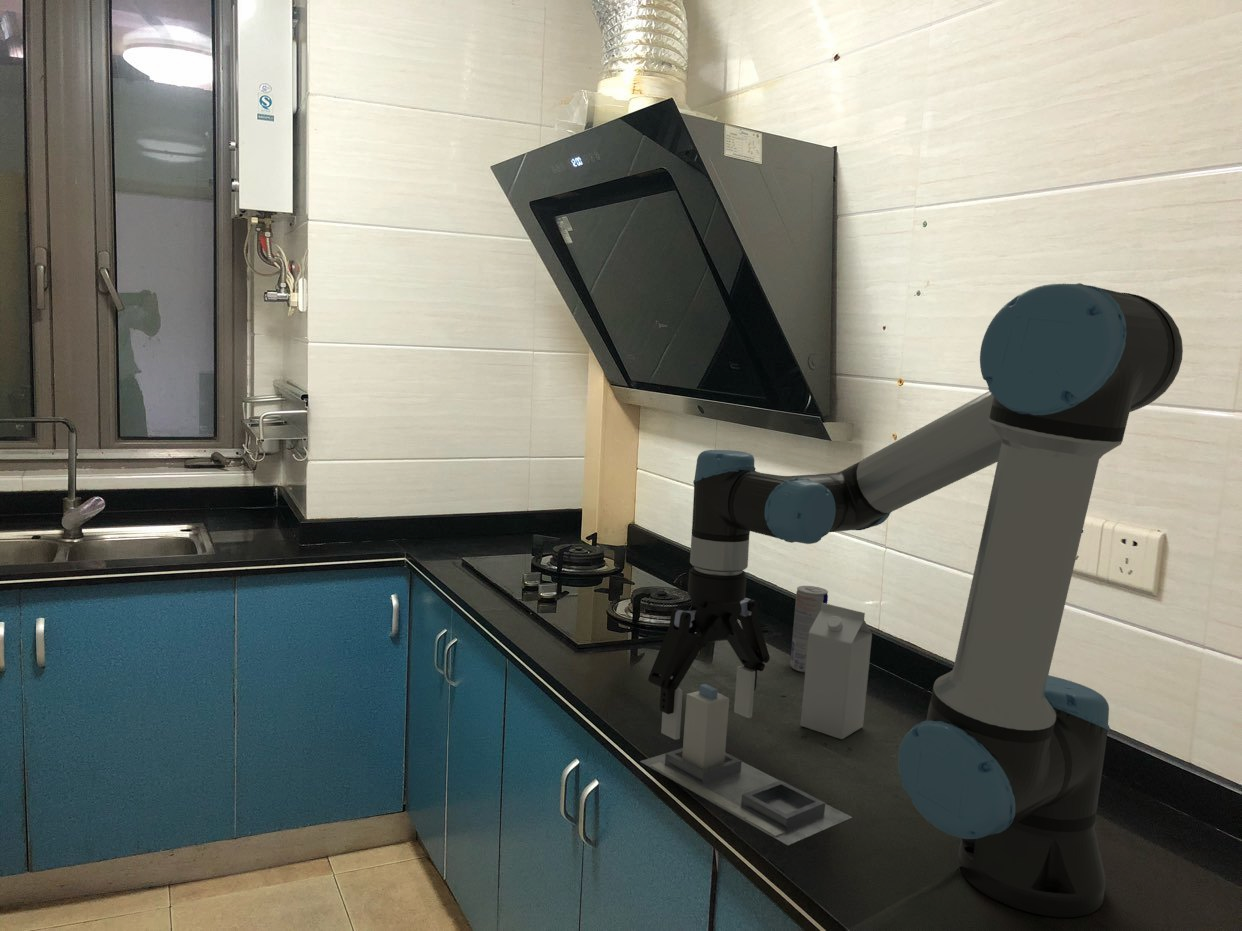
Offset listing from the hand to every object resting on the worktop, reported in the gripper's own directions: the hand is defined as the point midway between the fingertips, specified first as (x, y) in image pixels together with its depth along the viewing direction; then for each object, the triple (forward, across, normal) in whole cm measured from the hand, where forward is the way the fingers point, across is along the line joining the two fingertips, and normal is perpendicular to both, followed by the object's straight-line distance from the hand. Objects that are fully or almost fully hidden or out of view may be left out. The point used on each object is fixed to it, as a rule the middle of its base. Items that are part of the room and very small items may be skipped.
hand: (707, 725), depth 128 cm
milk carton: (+7, -29, -2) cm, 30 cm away
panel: (+7, 0, +6) cm, 10 cm away
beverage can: (+7, -47, -22) cm, 52 cm away
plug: (+6, 0, 0) cm, 6 cm away
